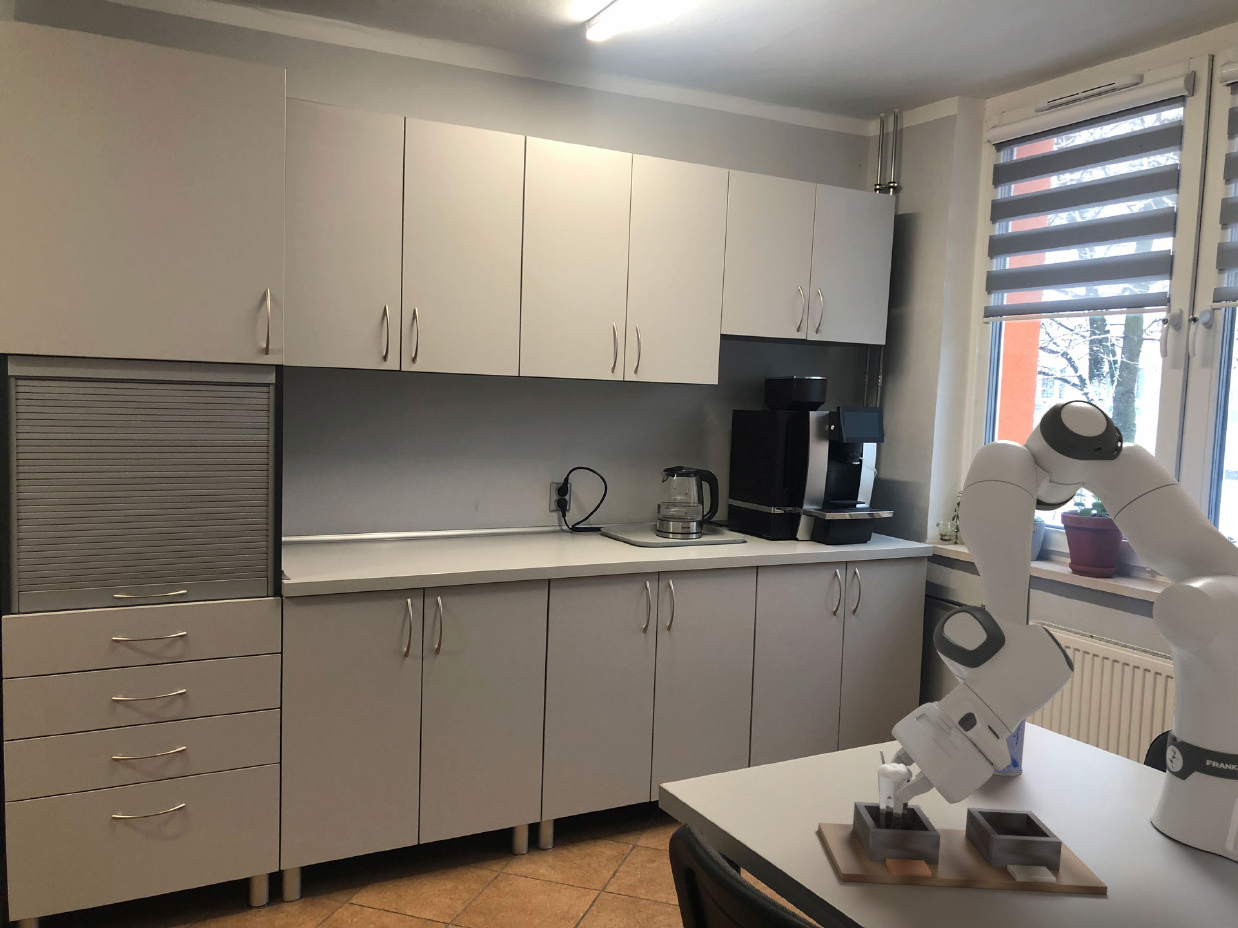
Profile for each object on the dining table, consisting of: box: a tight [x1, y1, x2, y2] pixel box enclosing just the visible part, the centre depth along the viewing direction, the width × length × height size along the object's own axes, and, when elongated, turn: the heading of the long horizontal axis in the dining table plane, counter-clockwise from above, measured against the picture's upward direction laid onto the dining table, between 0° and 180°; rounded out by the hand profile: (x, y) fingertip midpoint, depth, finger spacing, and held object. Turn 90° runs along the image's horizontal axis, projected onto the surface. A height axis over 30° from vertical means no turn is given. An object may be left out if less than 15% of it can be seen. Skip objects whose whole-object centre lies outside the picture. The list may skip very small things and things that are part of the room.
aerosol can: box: [992, 718, 1026, 777], centre depth 156 cm, size 8×8×20 cm
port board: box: [817, 801, 1108, 895], centre depth 123 cm, size 34×14×5 cm, turn 90°
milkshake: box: [876, 750, 913, 830], centre depth 124 cm, size 4×5×10 cm
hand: (892, 787), depth 124 cm, fingers closed on milkshake, 4 cm apart
